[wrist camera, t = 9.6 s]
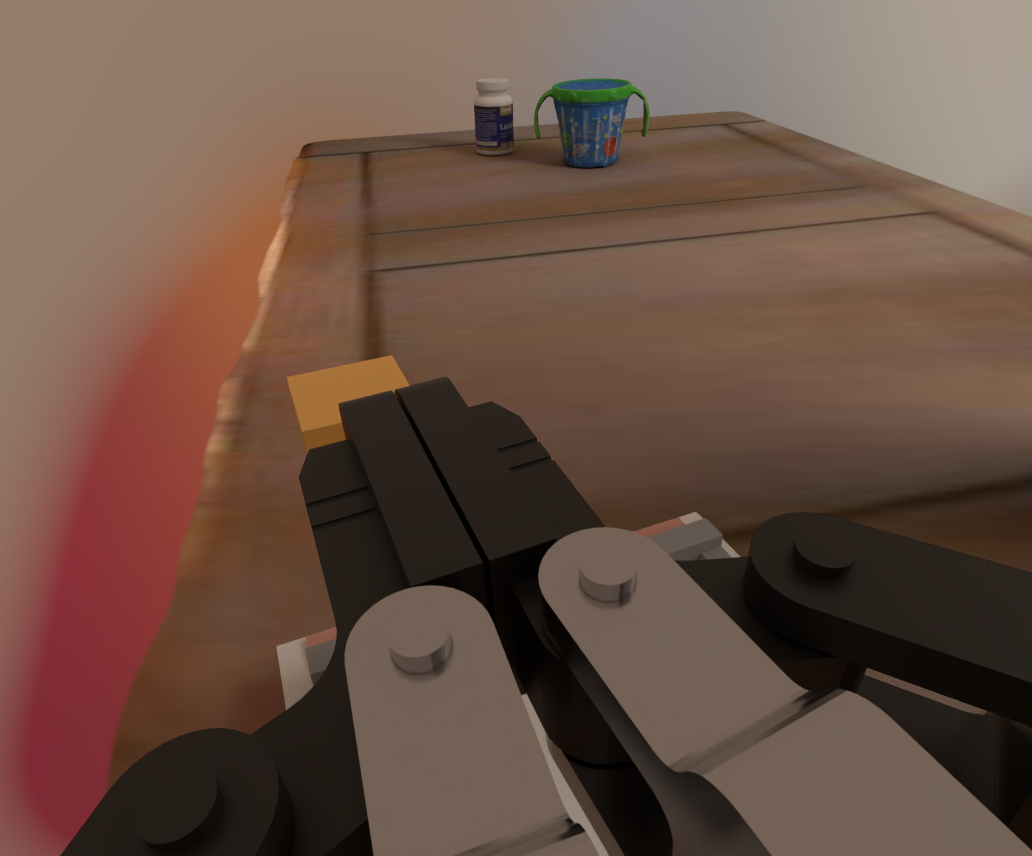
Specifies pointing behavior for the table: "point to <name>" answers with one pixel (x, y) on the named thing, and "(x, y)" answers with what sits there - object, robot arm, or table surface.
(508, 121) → the pill bottle
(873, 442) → the table surface
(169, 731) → the table surface
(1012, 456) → the table surface
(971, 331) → the table surface
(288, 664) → the panel
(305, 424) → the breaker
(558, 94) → the snack cup
